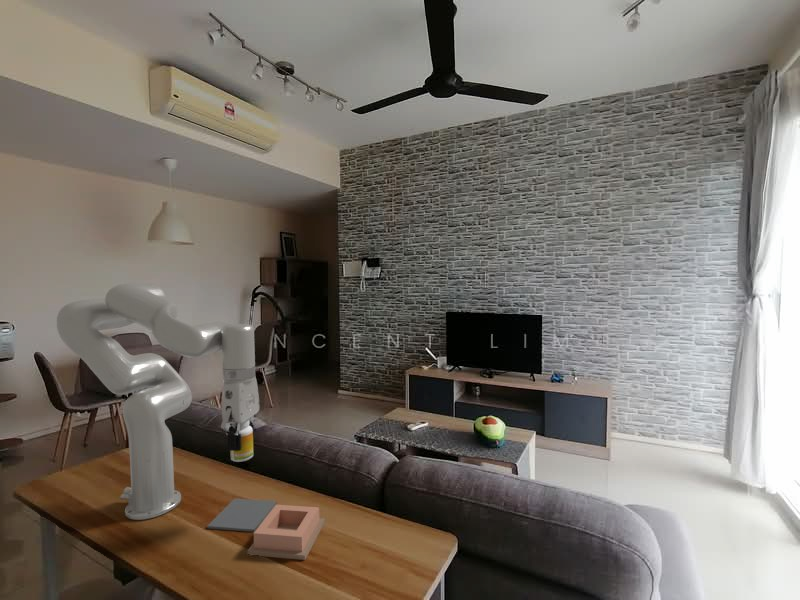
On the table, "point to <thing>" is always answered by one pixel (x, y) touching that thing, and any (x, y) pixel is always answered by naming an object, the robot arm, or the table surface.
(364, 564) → the table surface
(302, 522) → the collar block
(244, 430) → the supplement bottle
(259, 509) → the rubber mat
